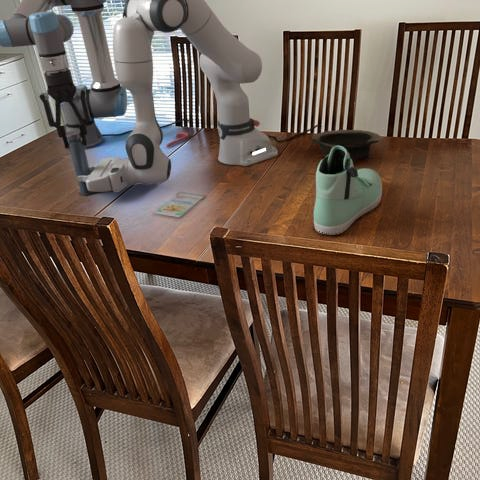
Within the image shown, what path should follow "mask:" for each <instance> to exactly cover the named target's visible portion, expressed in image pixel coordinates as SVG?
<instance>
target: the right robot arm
mask: <svg viewBox="0 0 480 480" xmlns="http://www.w3.org/2000/svg"><path fill="white" fill-rule="evenodd" d="M178 30H180V31H181V32H182V34H183V35H184V36H185V37H186V39H187V40H188V41H189V42H190V43H191V45H192V46H193V47H194V48H195V49H196V51H197V52H199V53H200V56H199V66H200V69H201V71H202V72H203V74H204V75H205V76H206V77H207V79H208V81H209V83H210V85H211V89H212V91H213V94H214V96H215V100H216V106H217V107H216V109H217V115H218V121H217V132H218V137H219V151H218V156H217V160H218V161H219V162H220V163H222V164H225V165H230V166H231V165H232V166H233V165H234V166H244V167H247V166H251V165H253V164H257V163H260V162H263V161H265V160H270V159H272V158H275V157H277V156H278V155H279V151H278V149H277V148H276V147H275V146H274V145H272V141H271V139H274V140H275V142H277V143H282V142H286V141H289V140H291V139H293V138H296V137H298V136H301V135H303V134H306V133H309V132H311V131H313V130H314V129H316V128H318V127H319V128H322V127H323V126H322V125H321V124H316V125H314V126H313V127H311V128H309V129H306V130H304V131H302V132H299V133H297V134H293V135H291V136H290V137H288V138H285V139H281V140H279V139H278V138H276V136H273V135H270V134H267V133H264V132H263V131H261V130H260V129H258V128H256V127H259V126H260V125H261V124H260V123H261V122H260V121H259V120H257V119H253V118H251V117H250V104H249V103H250V102H249V97H248V94H247V93H246V92H245V91H244V90H243V88H242V86H241V84H251V83H254V82H256V81H257V80H258V79H259V78H260V76H261V74H262V72H263V71H262V70H263V62H262V58H261V57H260V55H259V53H257V52H256V51H254V50H252V49H250V48H248V47H247V46H246V45H245V44H244V43H243V42H242V41H240V40H239V39H238V38H237V37H235V35H234V34H232V33H231V32H230V31H229V30H228V29H227V27H225V26H224V25H223V23H222V21H220V19H219V18H218V16H216V14H215V12H214V11H213V9H212V8H211V7H210V6H209V4H208V3H207V1H206V0H125V2H124V7H123V11H122V18H120V19H119V20H117V21H116V22H115V23H114V25H113V30H112V31H113V33H112V50H113V51H112V53H113V55H112V56H113V63H114V64H113V65H114V70H115V74H116V79H117V80H118V81H119V83H120V85H121V86H123V87H124V88H125V89H126V91H129V92H130V94H131V96H132V101H133V108H134V114H135V124H134V127H133V129H132V130H133V131H132V132H130V133H129V136H128V137H127V138H126V141H125V145H124V146H125V152H126V155H127V157H126V158H122V157H118V156H117V157H115V156H114V157H111V156H109V157H107V156H106V157H102V158H100V160H99V161H98V162H97V164H95V165H91V166H89V169H90V173H91V174H90V175H88V176H84V175H79V176H78V177H77V176H76V178H77V182H78V181H79V182H80V181H84V182H86V185H87V189H88V190H89V191H91V192H94V193H103V192H110V191H112V192H113V193H118V192H121V191H122V190H123V189H125V188H126V187H129V186H135V185H139V184H141V185H155V184H161V183H165V182H168V180H169V179H170V177H171V172H172V161H171V158H170V157H168V156H167V155H166V154H165V153H164V151H163V150H162V148H161V145H162V143H163V140H164V134H163V130H162V128H160V127H161V126H160V124H159V122H158V119H157V116H156V111H155V101H154V93H153V82H154V61H153V59H154V58H153V50H152V41H153V37H154V35H155V32H159V33H164V34H165V33H166V34H168V33H173V32H176V31H178ZM79 182H78V183H79Z"/></svg>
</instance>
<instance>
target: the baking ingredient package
mask: <svg viewBox="0 0 480 480" xmlns="http://www.w3.org/2000/svg"><path fill="white" fill-rule="evenodd" d="M204 197H205V196H203V195H197V194H190V193H185V192H179V193H178V194H176V196H174V197H173V198H171V199H169V200H168V201H167V202H165V204H163V205H162V206H161V207H159V208H158V209H157V210H155V211H154V212H153V213H154V214H157V215H158V214H159V215H162V216H169V217H174V218H180V217H181V216H182V215H184V213H186V212H187V211H189V210H190V209H191V208H192V207H193V206H195V205H196V204H197V203H198V202H199V201H200V200H202V199H203V198H204Z"/></svg>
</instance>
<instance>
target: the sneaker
mask: <svg viewBox="0 0 480 480" xmlns="http://www.w3.org/2000/svg"><path fill="white" fill-rule="evenodd" d="M317 165H318V166H317V168H316V172H315V201H314V207H313V225H314V229H315V231H316V232H318V233H320V234H323V235H326V236H327V235H328V236H336V235H339V234H342V233H344V232H345V231H347V230H348V229H349V228H350V227H351V226H352V225H353V224H354V222H356V221H357V220H358V219H359V218H360V217H362V216H363V215H365V214H367V213H370V212H372V210H374V209H375V208H377V207H378V205H380V203H381V200H382V196H383V184H382V183H383V182H382V179H381V176H380V175H379V173H378V172H377V171H376V170H374V169H372V168H367V167H365V168H358V169H357V168H355V167H354V163H353V161H352V159H350V156H349V153H348V152H347V150H346V149H345V148H344V147H342V146H334V147H333V148H332V149H331V152H330V154H329V155H327V156H324V158H322V159H321V160H320V161H319V163H318V164H317ZM343 230H344V231H343ZM319 231H320V232H319ZM322 232H323V233H322ZM339 232H340V233H339ZM326 233H327V234H326ZM328 233H329V234H328ZM335 233H337V234H335Z"/></svg>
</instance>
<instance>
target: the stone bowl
mask: <svg viewBox="0 0 480 480" xmlns="http://www.w3.org/2000/svg"><path fill="white" fill-rule="evenodd" d="M383 139H384V137H383V136H381V134H378V133H376V132H373V131H369V130H361V129H338V130H337V129H336V130H327V131H322V132H316V133H315V134H313V135H312V137H311V138H310V141H312V142H313V143H316V144H319V149H320V152H321V153H322V155H323V156H324V157H326V156H327V155H329V154H330V152H331V149H332V148H333V147H334V146H342V147H344V148H345V149H346V150H347V152H348V153H349V156H350V159H352V161H353V164H354V163H357V161H358V159H367V158H369V157H370V154H371V148H372V145H373V144H376V143H378V142H381V141H382V140H383Z"/></svg>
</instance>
